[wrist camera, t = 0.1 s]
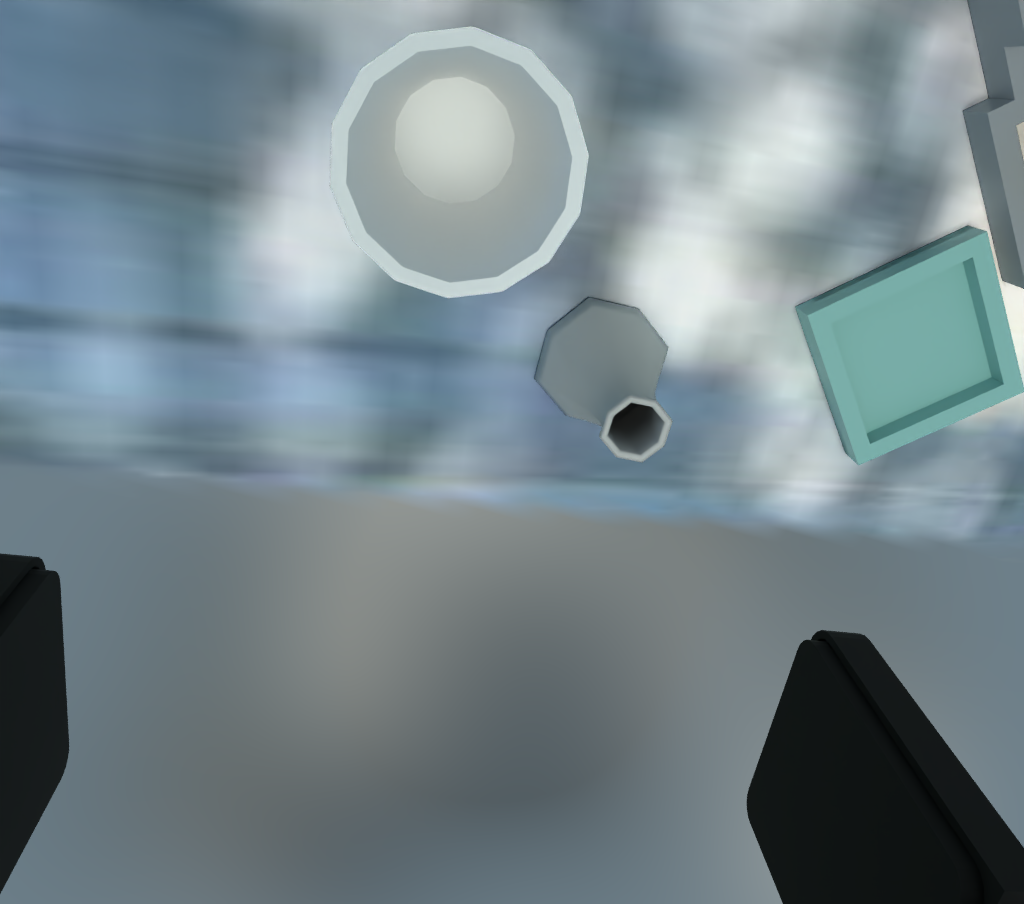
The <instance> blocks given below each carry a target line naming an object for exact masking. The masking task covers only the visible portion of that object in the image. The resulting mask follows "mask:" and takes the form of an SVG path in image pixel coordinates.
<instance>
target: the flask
mask: <svg viewBox="0 0 1024 904" xmlns="http://www.w3.org/2000/svg"><path fill="white" fill-rule="evenodd" d="M667 351H668V346H667V345H666V344H665V342H664V341H663V340H662V339H661V337H660V336H659V335H658V333H657V332H656V331H655V329H654V328H653V327H652V326H651V324H650V323H649V322H648V320H647V319H646V318H645V316H644V315H643V314H642V313H641V311H640V310H639V309H636V308H632V307H628V306H623V305H619V304H615V303H611V302H606V301H602V300H598V299H593V298H588V299H586V300H585V301H584V302H583V303H581V304H580V305H579V306H578V307H576V308H575V309H574V310H573V311H571V312H570V313H569V314H568V315H566V316H565V317H564V318H563V319H561V320H560V321H559V322H558V323H556V324H555V325H554V326H553V327H551V328H550V329H549V330H548V331H547V334H546V338H545V341H544V345H543V349H542V352H541V356H540V360H539V363H538V367H537V371H536V374H535V378H534V379H535V380H536V382H537V383H538V384H539V385H540V386H541V387H542V389H543V390H544V391H545V392H546V393H547V394H548V396H549V397H550V398H551V399H552V400H553V401H554V403H555V404H556V405H557V406H558V407H559V408H560V410H561V411H562V412H563V413H564V414H565V415H567V416H570V417H573V418H577V419H582V420H586V421H588V422H591V423H594V424H597V425H600V426H602V428H601V431H600V435H599V437H600V438H601V440H602V441H603V442H604V443H605V444H606V445H607V447H608V448H609V449H610V450H611V451H612V453H613V454H614V455H615V456H616V457H618V458H623V459H628V460H633V461H638V462H643V461H645V460H646V459H647V458H649V457H650V456H651V455H653V454H654V453H656V452H657V451H658V450H660V449H661V448H662V447H664V445H665V442H666V439H667V436H668V433H669V431H670V428H671V425H672V422H673V421H672V419H671V418H670V417H669V415H668V414H667V413H666V412H665V410H664V409H663V408H662V407H661V405H660V404H659V403H658V402H657V400H656V398H655V390H656V386H657V382H658V378H659V375H660V372H661V369H662V366H663V363H664V360H665V357H666V354H667Z"/></svg>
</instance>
